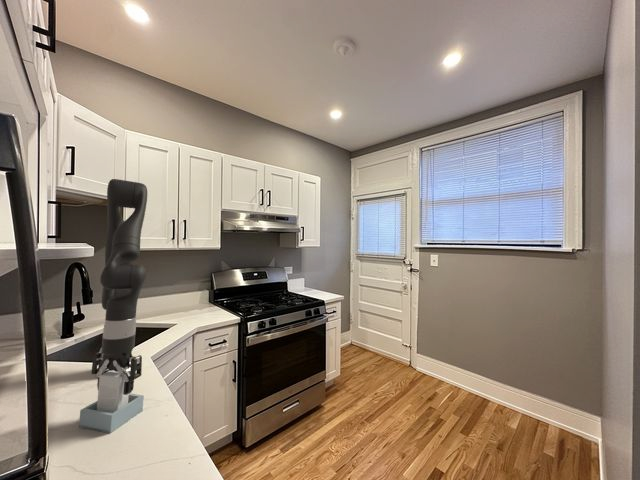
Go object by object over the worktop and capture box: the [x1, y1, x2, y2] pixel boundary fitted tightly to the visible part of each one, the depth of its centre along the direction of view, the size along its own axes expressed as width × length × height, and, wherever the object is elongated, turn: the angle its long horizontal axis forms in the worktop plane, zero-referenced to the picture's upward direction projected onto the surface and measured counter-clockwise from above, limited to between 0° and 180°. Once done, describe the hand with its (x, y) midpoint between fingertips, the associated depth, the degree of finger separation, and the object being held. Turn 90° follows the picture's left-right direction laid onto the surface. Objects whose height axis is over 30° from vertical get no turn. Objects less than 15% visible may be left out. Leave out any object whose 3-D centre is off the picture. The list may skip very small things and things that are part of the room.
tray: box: [78, 392, 144, 434], centre depth 74 cm, size 10×10×4 cm
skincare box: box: [96, 370, 130, 413], centre depth 75 cm, size 6×4×12 cm
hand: (114, 391), depth 75 cm, fingers open, 8 cm apart
